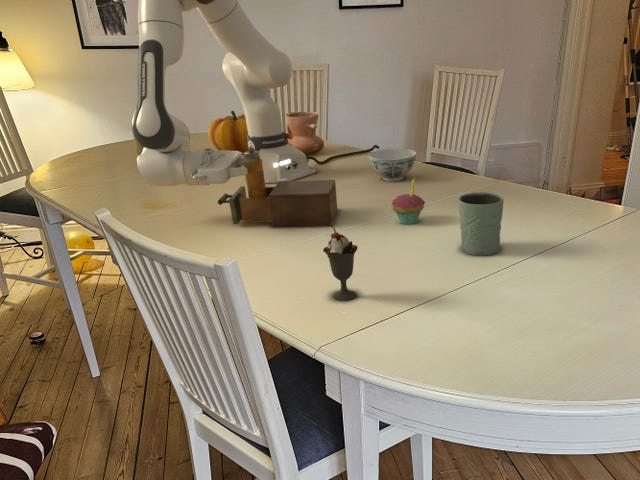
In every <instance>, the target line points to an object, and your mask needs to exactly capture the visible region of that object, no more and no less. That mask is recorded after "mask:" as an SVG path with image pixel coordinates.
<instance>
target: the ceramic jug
mask: <svg viewBox="0 0 640 480" xmlns="http://www.w3.org/2000/svg"><path fill="white" fill-rule="evenodd" d="M284 116H285V120H286V130H287V131H286V132H287V133H293V134H294V136H293V137H294V138H293V139H292V140H291V139H287V140H288V142H289V144H291V145H292V146H294V147H295V148H297V149H298V150H300V151H302V152H303V153H304V154H305V155H308V156H311V155H314V154H317V153H319V152H320V151H322V150H323V148H324V146H325V141H324V140H323V139H322V138H321V137H320V136H318V135H316V130H317V128H319V126H318V121H319V113H318V112H316V111H291V112H289V113H286V114H285V115H284Z"/></svg>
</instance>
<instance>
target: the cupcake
mask: <svg viewBox="0 0 640 480" xmlns="http://www.w3.org/2000/svg"><path fill="white" fill-rule="evenodd" d="M415 185H416V175H414V176H413V178H412V182H411V188H410V189H411V190H410V193H408V194H401V195H400V194H399V195H398V196H396V197H394V198H393V200H392V202H391V210H392V211H394V212H395V213H396V215H397V218H398V221H399V223H400V224H402V225H414V224H416V223H418V221H419V218H420V214H421V212H422V211H423V210H424V208H425V203H426V202H425V200H424V199H423V198H422V197H420V195H417V194H414V192H415Z"/></svg>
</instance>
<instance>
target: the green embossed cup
mask: <svg viewBox="0 0 640 480" xmlns="http://www.w3.org/2000/svg"><path fill="white" fill-rule="evenodd" d="M504 201H505V198H504V196H503V195H501V194H499V193H495V192H484V191H478V192H469V193H466V194H465V193H464V194H462V195H460V196H459V197H458V199H457V203H458V213H459V223H460V235H461V236H460V237H461V238H460V239H461V240H460V241H461V250H462V252H463V253H465V254H466V255H470V256H477V257H478V256H480V257H481V256H485V257H486V256H491V255H494V254H497V253H498V252H499V250H500V244H501V243H500V242H501V229H502V221H503V210H504Z"/></svg>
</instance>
